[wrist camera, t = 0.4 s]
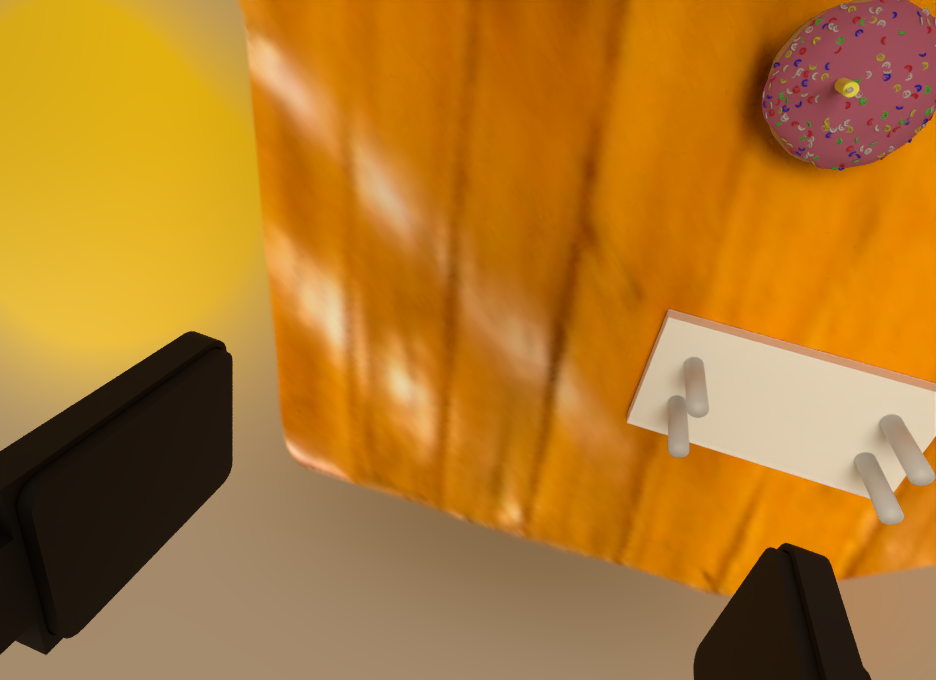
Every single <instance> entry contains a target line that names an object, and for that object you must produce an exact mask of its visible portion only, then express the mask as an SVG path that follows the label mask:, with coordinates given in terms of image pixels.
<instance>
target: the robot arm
mask: <svg viewBox="0 0 936 680" xmlns="http://www.w3.org/2000/svg"><path fill="white" fill-rule="evenodd" d="M231 468H232V356H231V354H230V353H228V352H227V351H226V346H225V344H224V343H223V342H221V341H219V340H216V339H214V338H211V337H208V336H206V335H203V334H200V333H197V332H194V331H193V332H192V331H190V332H187V333H185V334H183V335H182V336H180V337H179V338H177V339H175V340H174V341H172V342H171V343H169V344H168V345H166V346H164V347H163V348H161V349H160V350H158V351H157V352H155V353H153V354H152V355H150V356H149V357H147V358H146V359H144V360H143V361H141V362H139V363H138V364H136V365H135V366H133V367H131V368H130V369H128V370H127V371H125V372H124V373H122V374H121V375H119V376H117V377H116V378H115V379H113V380H111V381H110V382H108V383H106V384H105V385H103V386H102V387H100V388H99V389H97V390H95V391H94V392H92V393H91V394H89V395H88V396H86V397H84V398H83V399H81V400H80V401H78V402H77V403H75V404H74V405H72V406H70V407H69V408H67V409H66V410H64V411H63V412H61V413H59V414H58V415H56V416H55V417H53V418H52V419H50V420H48V421H47V422H45V423H44V424H42V425H41V426H39V427H37V428H36V429H34V430H33V431H31V432H30V433H28V434H27V435H25V436H23V437H22V438H20V439H19V440H17V441H16V442H14V443H12V444H11V445H10V446H8V447H6V448H5V449H3V450H1V451H0V654H1V653H3V652H4V651H5V650H6V649H7V648H8V647H9V646H10V645H11V644H12V643H13V642H14V641H15V640H16V641H17V642H19V643H21V644H24V645H26V646H28V647H30V648H32V649H34V650H37V651H39V652H41V653H43V654H45V655H46V654H48V653H49V652H50V651H51V649H53V648H54V647H55V645H57V644H58V643H59V642H60V641H61V640H62V639H63V638H71V637H73V636H74V635H76V634H78V633H79V632H80V631H81V630H82V629H83V628H84V627H85V626H86V625H87V624H88V623H89V622H90V621H91V620H92V619H93V618H94V617H95V616H96V615H97V613H99V612H100V611H101V610H102V608H103V607H104V606H105V605H106V604H107V603H108V602H109V601H110V600H111V599H112V598H113V597H114V596H115V595H116V594H117V593H118V592H119V591H120V590H121V589H122V588H123V587H124V586H125V585H126V584H127V583H128V582H129V580H131V578H132V577H133V576H134V575H135V574H136V573H137V572H138V571H139V570H140V569H141V568H142V567H143V566H144V565H145V564H146V563H147V562H148V561H149V560H150V559H151V558H152V557H153V555H155V554H156V553H157V552H158V551H159V550H160V548H161V547H162V546H163V545H164V544H165V543H166V542H167V541H168V540H169V539H170V538H171V537H172V536H173V535H174V534H175V533H176V532H177V531H178V530H179V529H180V528H181V527H182V526H183V524H184V523H186V522H187V521H188V519H189V518H190V517H191V516H192V515H193V514H194V513H195V512H196V511H197V510H198V509H199V508H200V507H201V506H202V505H203V504H204V503H205V502H206V501H207V500H208V499H209V498H210V497H211V495H213V494H214V493H215V492H216V490H217V489H218V488H219V487H220V486H221V485H222V484H223V483H224V482H225V481H226V479H227V477H228V476H229V474H230V471H231ZM694 680H871V678H870V675H869V673H868V672H867V671H866V670H865V669H864V667H863V665H862V662H861V658H860V655H859V652H858V649H857V646H856V642H855V639H854V636H853V633H852V630H851V626H850V623H849V620H848V617H847V614H846V611H845V607H844V604H843V601H842V598H841V595H840V591H839V588H838V585H837V582H836V579H835V575H834V572H833V569H832V566H831V564H830V562H829V560H828V559H827V558H826V557H825V556H822V555H820V554H817V553H814V552H811V551H808V550H806V549H803V548H800V547H797V546H794V545H792V544H788V543H784V544H782V545H781V546H780V547H779V548H778V549H775V548H771V547H769V548H767V549H766V550H765V551H764V552H763V554H762V555H761V557H760V558H759V559H758V561H757V562H756V564H755V565H754V567H753V568H752V570H751V571H750V572H749V574H748V575H747V577H746V578H745V580H744V581H743V583H742V584H741V586H740V587H739V588H738V590H737V591H736V593H735V594H734V596H733V597H732V599H731V600H730V601H729V603H728V605H727V606H726V607H725V609H724V610H723V612H722V613H721V614H720V616H719V617H718V619H717V620H716V622H715V623H714V625H713V626H712V627H711V629H710V630H709V632H708V633H707V635H706V636H705V638H704V639H703V641H702V642H701V643H700V645H699V647H698V649H697V651H696V655H695V659H694Z"/></svg>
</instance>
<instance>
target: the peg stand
mask: <svg viewBox="0 0 936 680" xmlns="http://www.w3.org/2000/svg"><path fill="white" fill-rule="evenodd" d="M627 423H629V424H633V425H636V426H639V427H642V428H645V429H649V430H652V431H655V432H658V433H661V434H665V435H668V451H669V453H670V454H671V455H672V456H674V457H677V458H682V457H685V456H687V455H688V453H689V442H690V443H693V444H697V445H700V446H703V447H706V448H709V449H713V450H716V451H719V452H722V453H725V454H729V455H732V456H735V457H738V458H741V459H745V460H748V461H751V462H754V463H757V464H761V465H764V466H767V467H770V468H773V469H777V470H780V471H783V472H786V473H789V474H793V475H796V476H799V477H802V478H805V479H809V480H812V481H815V482H818V483H821V484H825V485H828V486H831V487H834V488H837V489H841V490H844V491H847V492H850V493H853V494H857V495H860V496H863V497H866V498H869V499H871V501H872V503H873V505H874V508H875V510H876V512H877V515H878V517H879V519H880V521H881V522H883V523H885V524H889V525H894V524H898V523H900V522H901V521H902V520H903V519H904V514H903V512H902V510H901V508H900V506H899V504H898V502H897V500H896V498H895V496H894V494H893V492H894V491H895V489H896V488H897V487H898V485H899V484H900V483H901V481H902V480H903V479H904V477H905V476H906V475H907V477H908V479H909V481H910V482H911V483H913V484H915V485H918V486H924V485H928V484H930V483H932V482H933V481H934V479H935V473H934V472H933V470H932V468H931V467H930V465H929V463H928V462H927V460H926V458H925V457H924V455H923V452H924V451H925V449H926V448H927V447H928V445H929V444H930V443H931V441H932V440H933V439H934V437H935V436H936V383H933V382H930V381H926V380H923V379H919V378H915V377H912V376H908V375H905V374H901V373H898V372H894V371H890V370H887V369H883V368H880V367H876V366H872V365H869V364H865V363H862V362H858V361H854V360H851V359H847V358H844V357H840V356H836V355H833V354H829V353H826V352H822V351H818V350H815V349H811V348H808V347H804V346H800V345H797V344H793V343H790V342H786V341H782V340H779V339H775V338H772V337H768V336H765V335H761V334H757V333H754V332H750V331H747V330H743V329H739V328H736V327H732V326H729V325H725V324H721V323H718V322H714V321H711V320H707V319H703V318H700V317H696V316H693V315H689V314H685V313H682V312H678V311H675V310H671V309H668V311H667V314H666V316H665V319H664V322H663V324H662V327H661V329H660V332H659V334H658V337H657V339H656V342H655V344H654V347H653V350H652V352H651V355H650V357H649V360H648V362H647V365H646V367H645V370H644V372H643V375H642V378H641V380H640V383H639V385H638V388H637V390H636V393H635V395H634V398H633V401H632V403H631V406H630V408H629V411H628V416H627Z"/></svg>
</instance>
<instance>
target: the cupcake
mask: <svg viewBox="0 0 936 680" xmlns="http://www.w3.org/2000/svg"><path fill="white" fill-rule="evenodd" d="M926 11H927V12H926ZM935 111H936V19H935V18H934V17H933V16H932V15H930V14H929V10H928V9H924V10H922V9H921V8H919V7H918V6H916V5H914V4H913V3H911V2H910V1H908V0H855V1H851V2H848V3H844V4H841V5H838V6H835V7H833V8H830V9H828V10H826V11H824V12H822V13H820V14H818V15H817V16H815V17H813V18H812V19H810V20H809V21H807V22H806V23H805V24H803V25H802V26H801V27H800V28H799V29H798V30H797V31H796V32H795V33H794V34H793V35H792V36H791V37H790V38H789V40H788V41H787V42H786V43H785V44H784V45H783V46H782V48H781V49H780V50H779V51H778V53H777V55H776V56H775V58H774V61H773V64H772V66H771V69H770V72H769V76H768V80H767V82H766V84H765V87H764V89H763V93H762V113H763V117H764V119H765V121H766V122H767V123H768V125H769V128H770V130H771V133H772V134H773V136H774V137H775V139H776V140H777V141H778V142H779V143H780V145H781V146H782V147H783V148H784V150H785V151H786V152H787V153H788V154H790V155H791V156H793V157H794V158H796V159H799V160H801V161H804V162H808V163H812V164H813V165H814V166H815V165H816V166H817V167H819V168H825V169H838V170H843V169H845V168H847V167H853V166H860V165H865V164H869V163H872V162H875V161H877V160H879V159H880V160H882V159H883V158H884V157H885V156H886V155H888V154H890V153H891V152H893V151H895V150H896V149H898V148H900V147H901V146H903V145H904V144H906V143H907V142H909V143H910V142H911V140H912V138H913V137H914V136H915V135H916V134H917V133H918V132H919V131H920V130H921V129H922V128H925V126H926V123H927V122H928V121H930V120H931V118H932V116H933V114H934V112H935ZM840 168H841V169H840Z"/></svg>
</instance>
